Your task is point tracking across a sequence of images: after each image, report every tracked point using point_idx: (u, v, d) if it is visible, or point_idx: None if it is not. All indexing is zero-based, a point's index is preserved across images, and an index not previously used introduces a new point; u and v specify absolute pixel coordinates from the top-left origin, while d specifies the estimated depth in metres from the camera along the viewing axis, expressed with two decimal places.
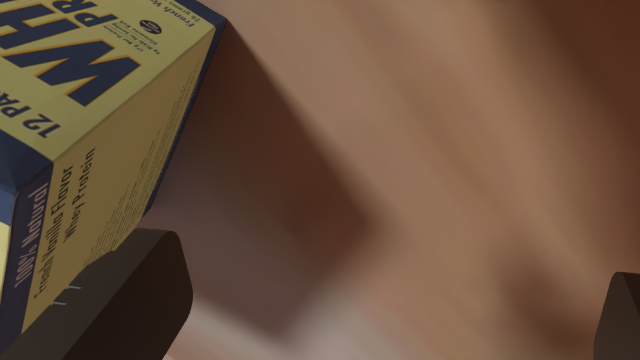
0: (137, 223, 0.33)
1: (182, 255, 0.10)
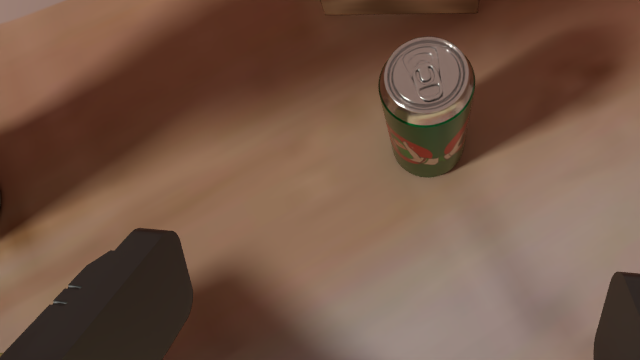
0: None
1: (182, 255, 0.10)
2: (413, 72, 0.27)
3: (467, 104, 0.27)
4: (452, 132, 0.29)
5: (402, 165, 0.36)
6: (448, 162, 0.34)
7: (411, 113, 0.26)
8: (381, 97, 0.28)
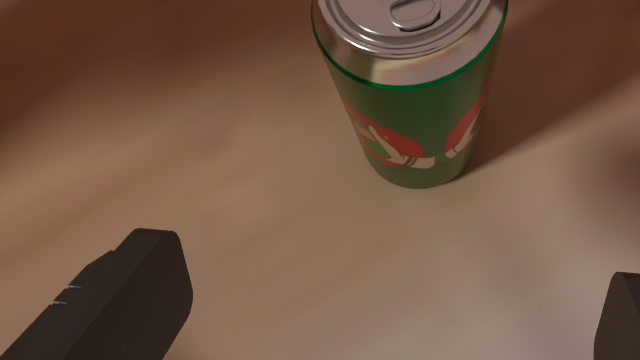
0: None
1: (182, 255, 0.10)
2: None
3: (493, 40, 0.12)
4: (461, 104, 0.14)
5: (377, 169, 0.22)
6: (452, 164, 0.20)
7: (374, 60, 0.12)
8: (315, 32, 0.14)
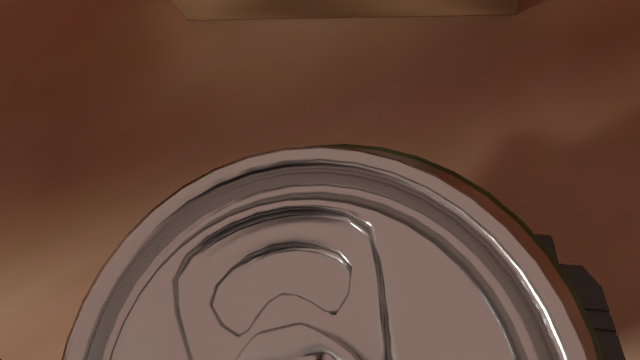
0: None
1: None
2: None
3: None
4: None
5: None
6: None
7: None
8: None
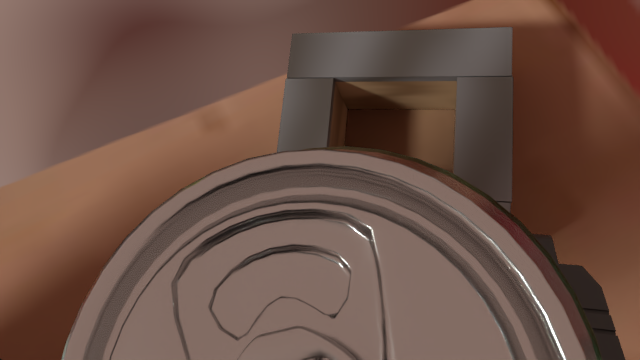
0: None
1: None
2: None
3: None
4: None
5: None
6: None
7: None
8: None
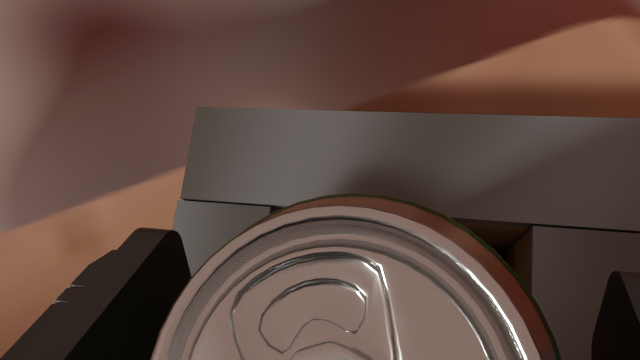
0: None
1: (184, 254, 0.10)
2: None
3: None
4: None
5: None
6: None
7: None
8: None
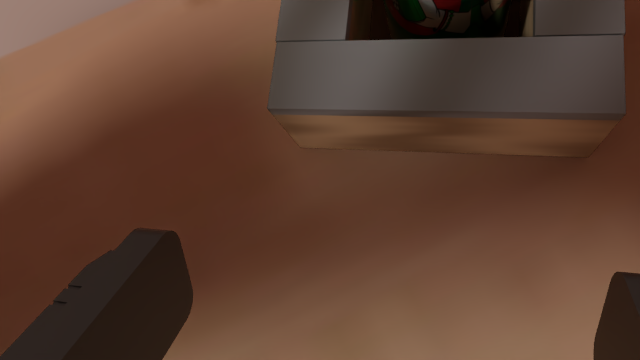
0: None
1: (182, 255, 0.10)
2: None
3: None
4: None
5: None
6: (486, 32, 0.20)
7: None
8: None
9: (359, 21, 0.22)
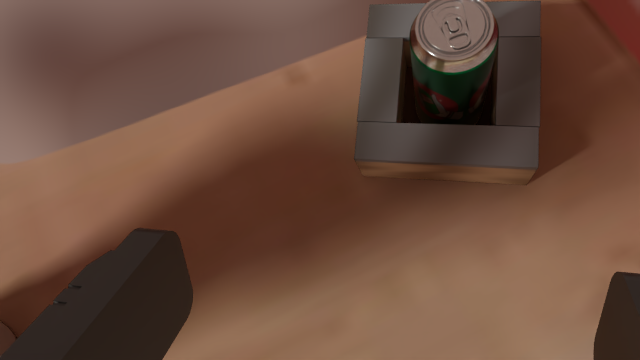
0: None
1: (182, 255, 0.10)
2: (442, 24, 0.29)
3: (493, 51, 0.29)
4: (478, 81, 0.31)
5: None
6: (471, 117, 0.37)
7: (442, 62, 0.29)
8: (412, 50, 0.30)
9: (400, 106, 0.38)
